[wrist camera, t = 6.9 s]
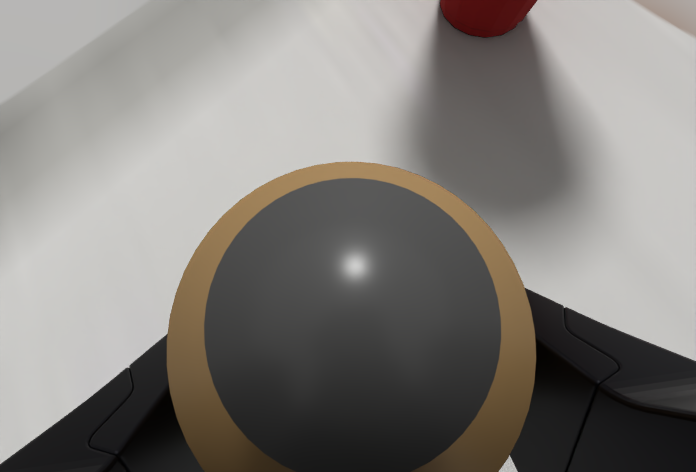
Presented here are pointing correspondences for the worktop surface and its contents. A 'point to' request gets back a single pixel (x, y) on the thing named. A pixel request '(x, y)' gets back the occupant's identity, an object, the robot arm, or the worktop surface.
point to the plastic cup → (485, 15)
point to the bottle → (351, 330)
